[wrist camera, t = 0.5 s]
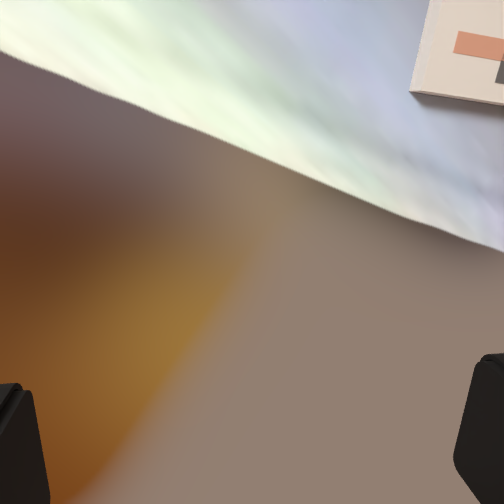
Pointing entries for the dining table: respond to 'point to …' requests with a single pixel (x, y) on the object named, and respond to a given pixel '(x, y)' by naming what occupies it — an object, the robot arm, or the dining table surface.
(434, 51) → the fader console
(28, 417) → the robot arm
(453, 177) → the dining table surface
